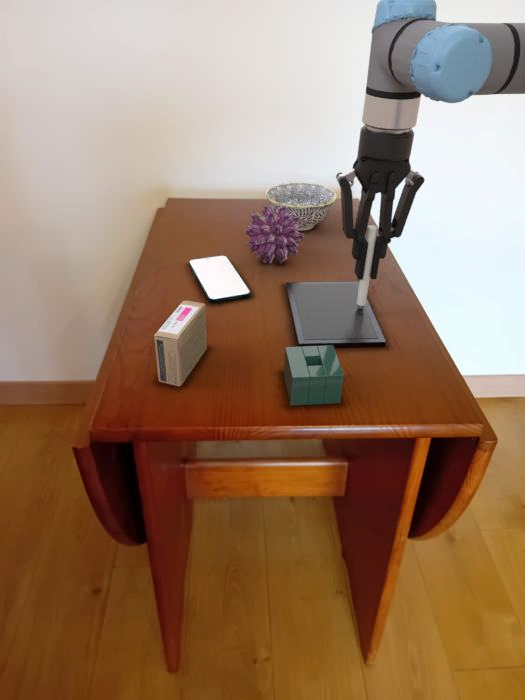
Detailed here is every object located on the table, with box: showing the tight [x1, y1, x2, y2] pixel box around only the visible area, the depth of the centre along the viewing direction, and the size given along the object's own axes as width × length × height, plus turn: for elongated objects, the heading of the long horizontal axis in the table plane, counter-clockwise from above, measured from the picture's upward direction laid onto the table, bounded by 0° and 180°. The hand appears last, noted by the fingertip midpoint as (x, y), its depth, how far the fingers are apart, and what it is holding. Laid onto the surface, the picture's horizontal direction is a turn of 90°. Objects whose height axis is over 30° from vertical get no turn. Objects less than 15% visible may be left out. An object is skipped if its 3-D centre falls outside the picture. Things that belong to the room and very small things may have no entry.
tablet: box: [285, 281, 387, 349], centre depth 93 cm, size 20×14×1 cm
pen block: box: [283, 345, 345, 407], centre depth 76 cm, size 7×7×5 cm
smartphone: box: [188, 255, 251, 304], centre depth 102 cm, size 8×1×16 cm
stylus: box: [357, 224, 379, 309], centre depth 89 cm, size 2×2×15 cm
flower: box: [244, 204, 305, 264], centre depth 107 cm, size 12×12×12 cm
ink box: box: [153, 300, 208, 388], centre depth 79 cm, size 10×4×8 cm, turn 162°
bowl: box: [265, 181, 338, 232], centre depth 123 cm, size 16×16×8 cm
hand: (365, 275), depth 90 cm, fingers closed on stylus, 1 cm apart
